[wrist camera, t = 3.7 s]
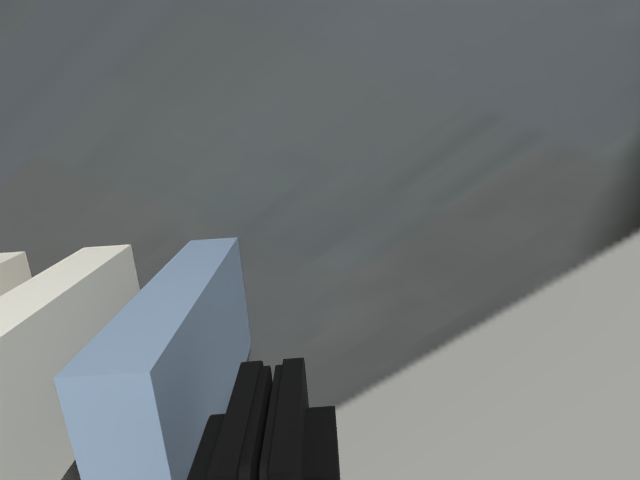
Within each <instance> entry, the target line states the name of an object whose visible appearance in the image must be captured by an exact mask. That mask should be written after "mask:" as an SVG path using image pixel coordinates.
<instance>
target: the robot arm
mask: <svg viewBox="0 0 640 480" xmlns="http://www.w3.org/2000/svg"><path fill="white" fill-rule="evenodd" d="M339 470H340V469H339V455H338V440H337V427H336V415H335V406H327V407H313V408H309V403H308V393H307V383H306V372H305V362H304V358H292V359H283V365H276V366H275V372H274V379H273V382H272V374H271V367H270V366H263V362H262V361H250V362H241V364H240V367H239V370H238V374H237V377H236V380H235V384H234V387H233V390H232V394H231V397H230V400H229V404H228V407H227V410H226V414H213V415H210V416H209V418H208V421H207V423H206V426H205V429H204V432H203V435H202V438H201V440H200V443H199V446H198V449H197V452H196V455H195V457H194V460H193V463H192V466H191V469H190V472H189V474H188V477H187V480H340V471H339Z"/></svg>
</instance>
